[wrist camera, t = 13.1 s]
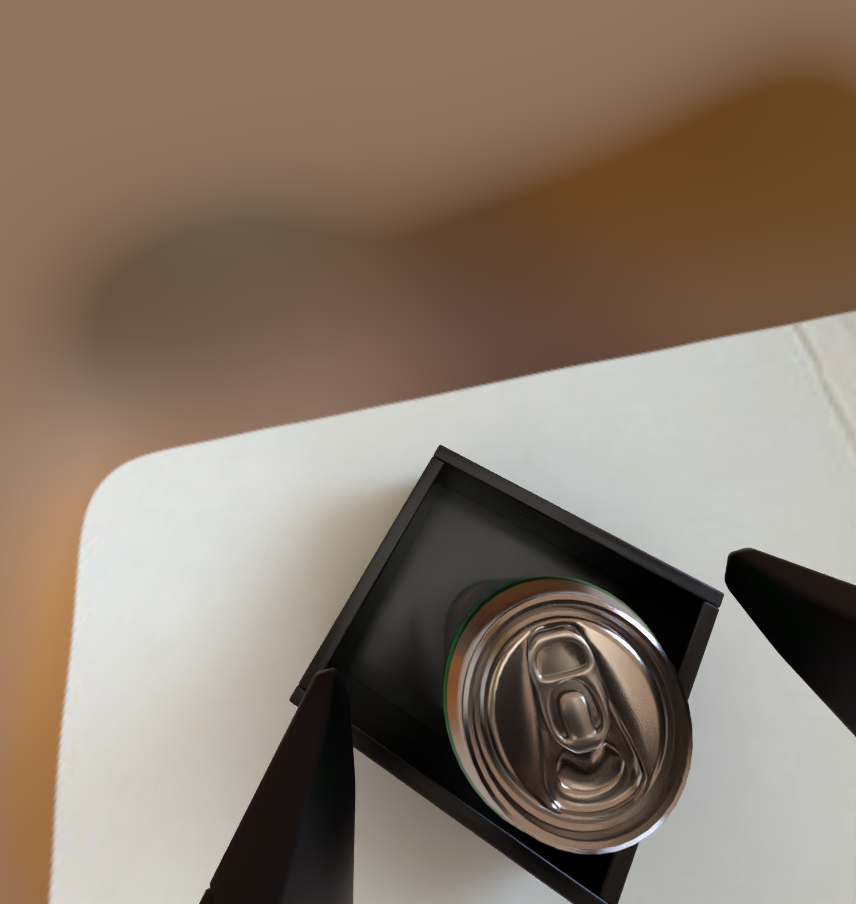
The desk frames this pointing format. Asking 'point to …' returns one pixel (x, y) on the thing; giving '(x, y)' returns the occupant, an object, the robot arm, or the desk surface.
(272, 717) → the desk surface
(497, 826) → the open black square box
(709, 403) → the desk surface
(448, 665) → the soda can
